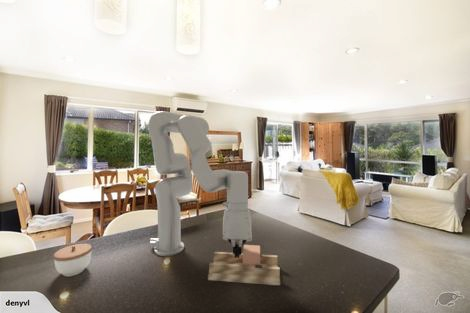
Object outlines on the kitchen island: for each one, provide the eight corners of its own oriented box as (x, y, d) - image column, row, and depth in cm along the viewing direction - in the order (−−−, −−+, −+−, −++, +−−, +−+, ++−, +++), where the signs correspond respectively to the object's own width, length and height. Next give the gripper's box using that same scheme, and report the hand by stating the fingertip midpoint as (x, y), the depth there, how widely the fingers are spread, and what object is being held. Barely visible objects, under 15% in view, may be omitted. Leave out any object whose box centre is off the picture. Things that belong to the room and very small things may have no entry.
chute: (208, 279, 70) (208, 266, 70) (215, 260, 82) (215, 249, 82) (280, 285, 68) (280, 271, 67) (276, 265, 80) (276, 252, 79)
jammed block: (242, 272, 72) (242, 252, 72) (243, 263, 78) (243, 244, 78) (259, 273, 71) (260, 253, 71) (259, 264, 77) (259, 245, 77)
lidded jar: (55, 269, 76) (54, 244, 75) (91, 260, 82) (90, 236, 82) (52, 285, 67) (52, 256, 67) (92, 273, 74) (92, 247, 73)
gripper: (214, 208, 71) (214, 260, 72) (258, 209, 70) (257, 263, 70) (218, 202, 79) (218, 249, 79) (258, 203, 77) (258, 252, 78)
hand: (237, 256), depth 75 cm, fingers closed
